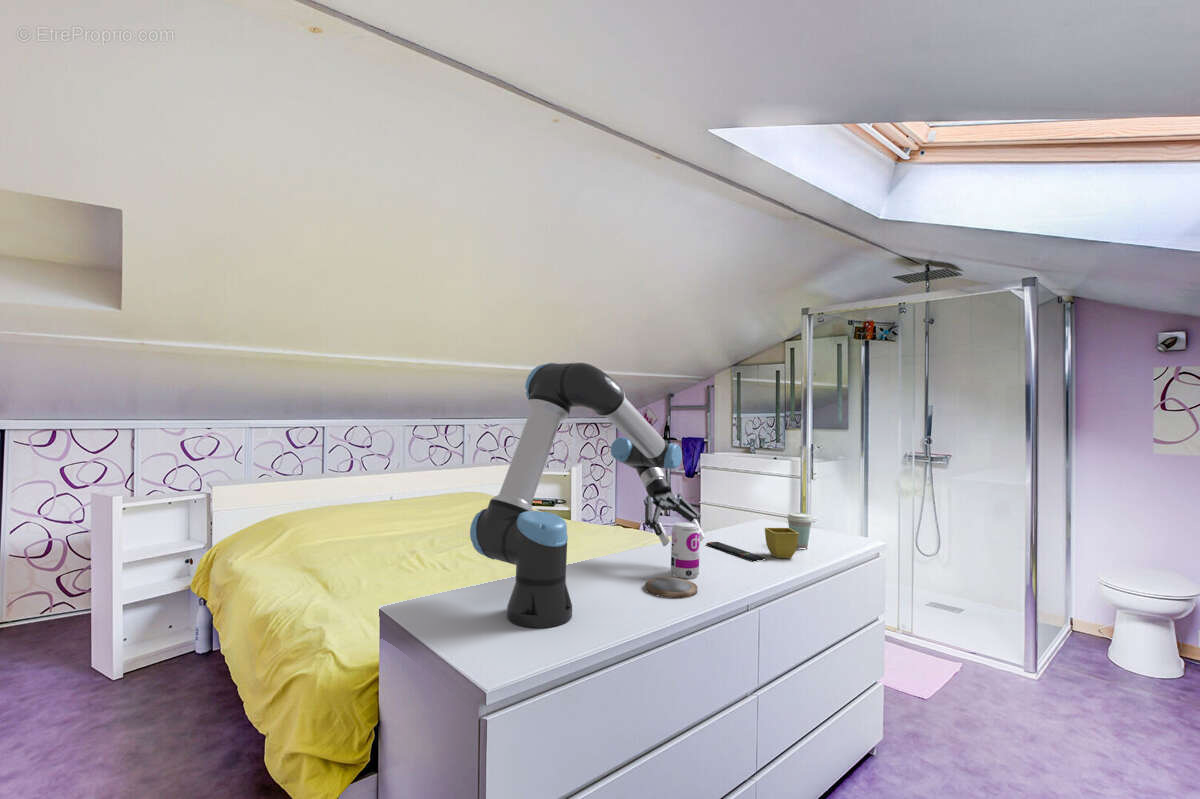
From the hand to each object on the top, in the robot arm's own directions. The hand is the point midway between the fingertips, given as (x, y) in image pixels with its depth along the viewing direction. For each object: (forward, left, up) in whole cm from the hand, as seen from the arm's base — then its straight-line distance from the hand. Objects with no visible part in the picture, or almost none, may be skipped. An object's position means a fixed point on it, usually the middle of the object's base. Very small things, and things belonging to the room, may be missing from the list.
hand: (684, 541), depth 172 cm
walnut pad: (-13, -10, -9) cm, 19 cm away
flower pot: (+43, +2, -10) cm, 44 cm away
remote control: (+32, +13, -10) cm, 36 cm away
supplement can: (-1, -1, -10) cm, 10 cm away
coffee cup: (+59, +8, -10) cm, 60 cm away
